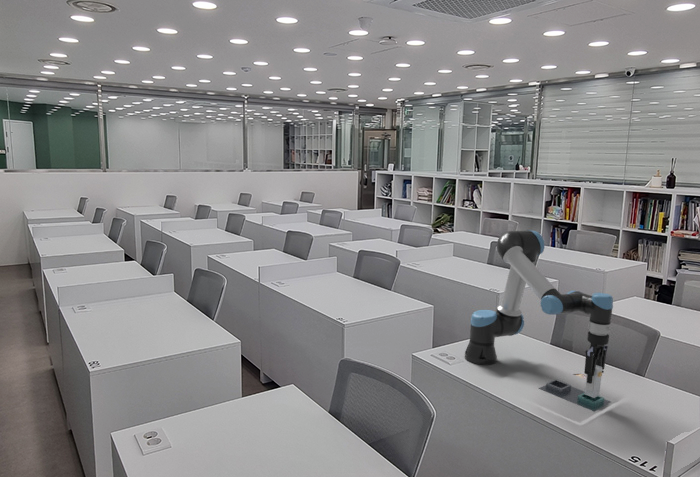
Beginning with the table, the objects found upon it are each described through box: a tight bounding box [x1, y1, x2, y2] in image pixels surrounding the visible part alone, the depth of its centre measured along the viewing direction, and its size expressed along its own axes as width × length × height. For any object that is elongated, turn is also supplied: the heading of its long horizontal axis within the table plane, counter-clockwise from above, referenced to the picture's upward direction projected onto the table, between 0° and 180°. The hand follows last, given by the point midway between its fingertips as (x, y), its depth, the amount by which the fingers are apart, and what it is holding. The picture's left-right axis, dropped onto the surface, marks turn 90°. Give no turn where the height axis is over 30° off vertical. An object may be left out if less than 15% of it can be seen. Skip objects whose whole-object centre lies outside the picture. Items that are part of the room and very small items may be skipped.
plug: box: [584, 365, 603, 398], centre depth 205 cm, size 5×4×12 cm
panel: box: [538, 379, 611, 412], centre depth 213 cm, size 24×14×3 cm, turn 38°
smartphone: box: [572, 373, 586, 380], centre depth 228 cm, size 1×7×15 cm
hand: (592, 388), depth 206 cm, fingers closed on plug, 4 cm apart
